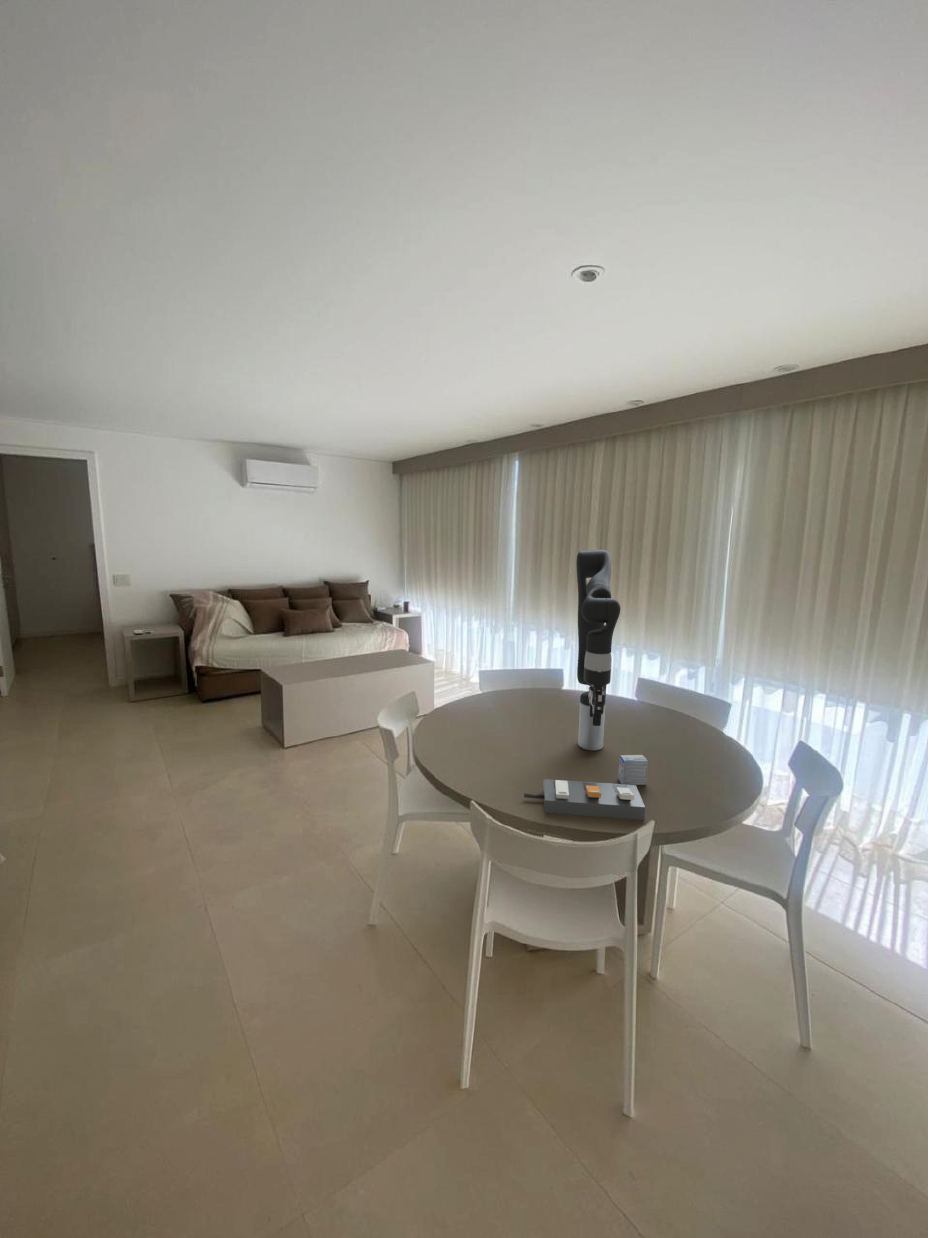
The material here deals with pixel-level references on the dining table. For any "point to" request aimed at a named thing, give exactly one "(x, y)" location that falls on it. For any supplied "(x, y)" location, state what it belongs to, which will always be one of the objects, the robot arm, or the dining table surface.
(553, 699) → the dining table surface
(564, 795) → the plate
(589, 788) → the rocker
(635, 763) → the medicine box
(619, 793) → the rocker
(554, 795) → the power strip
